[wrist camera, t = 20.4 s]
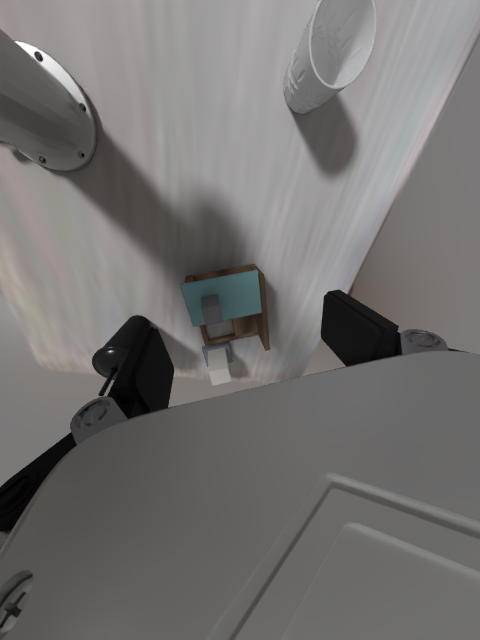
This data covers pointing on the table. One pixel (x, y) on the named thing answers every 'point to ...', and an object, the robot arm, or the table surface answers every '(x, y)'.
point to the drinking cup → (117, 350)
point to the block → (218, 366)
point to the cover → (222, 298)
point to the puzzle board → (246, 323)
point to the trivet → (217, 346)
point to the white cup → (330, 52)
